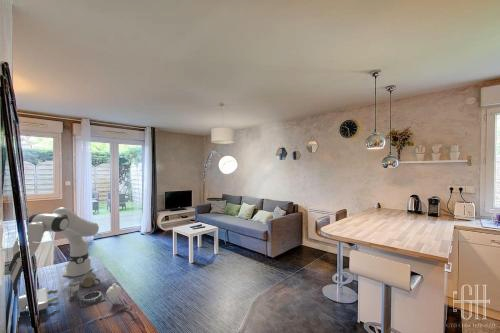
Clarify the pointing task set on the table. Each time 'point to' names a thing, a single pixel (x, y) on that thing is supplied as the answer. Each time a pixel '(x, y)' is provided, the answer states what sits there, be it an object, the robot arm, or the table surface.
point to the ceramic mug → (90, 279)
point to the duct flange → (91, 298)
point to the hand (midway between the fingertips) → (57, 294)
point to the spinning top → (113, 292)
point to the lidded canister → (73, 290)
